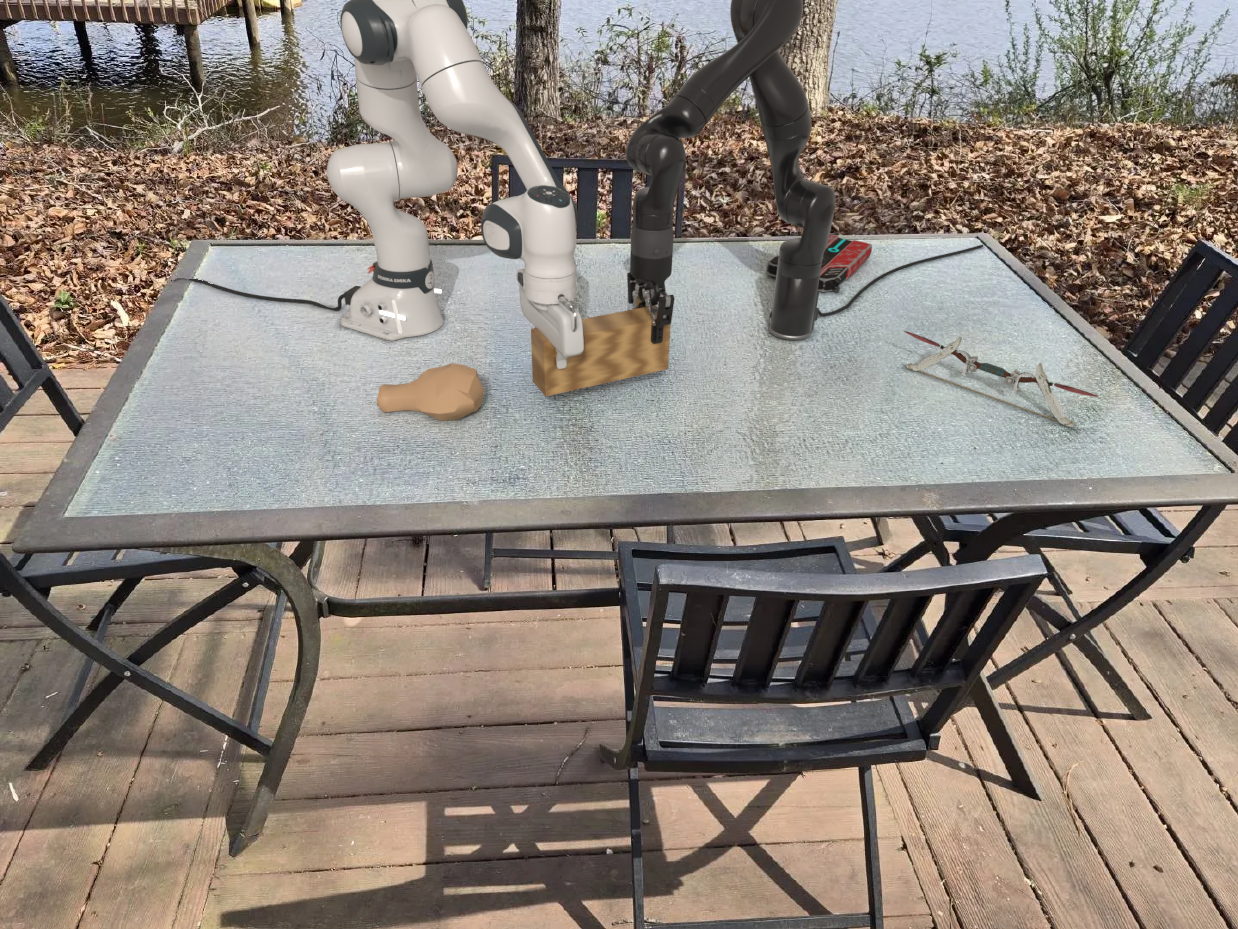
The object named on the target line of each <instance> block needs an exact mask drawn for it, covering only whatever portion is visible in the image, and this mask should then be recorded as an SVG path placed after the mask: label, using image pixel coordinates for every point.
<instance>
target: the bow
mask: <svg viewBox="0 0 1238 929" xmlns="http://www.w3.org/2000/svg"><path fill="white" fill-rule="evenodd" d="M903 332H904V333H905V334H907V335H909V336H911V337H912V338H914V339H916V340H919V341H922V342H924V343H926V344H929V345H931V346H934V347H937V348H940V350H941V351H939V352H935V353H934V354H932V355H930V356H927V357H925V358H924V359H923V360H921V361H920V362H919V363H912V362H910V363H907V364H905V367H906V369H909V370H910V371H913V372H920V373H922V374H926V375H928V376H931V377H933V378H936V379H939V380H942V381H944V382H948V383H950V384H953V385H956V386H958V387H961V388H964V389H966V390H969V391H972V392H975V393H978V394H981V395H983V396H986V397H988V398H989V397H990V398H992V399H995V400H997V401H1000V402H1003V403H1005V404H1008V405H1011V406H1014V407H1017V408H1019V409H1022V410H1025V411H1028V412H1030V413H1033V414H1035V415H1039V416H1042V417H1045V418H1047V419H1050V420H1053V421H1056V422H1058V423H1059V424H1061V425H1062V426H1065V427H1069V428H1073V427H1074V426H1075V425H1076V424H1077V423H1076V422H1074V420H1071V419H1070V418H1069V417H1067V416H1066V415H1065V413H1064V410H1063V407H1062V405H1061V403H1060V401H1059V399H1058V397H1057V396H1056V394H1055V393H1054V392H1053V391H1052V388H1051V387H1053V386H1054V387H1056V388H1058V389H1061V390H1064V391H1067V392H1071V393H1075V394H1077V395H1083V396H1089V397H1095V398H1098V397H1099V395H1098V394H1094V393H1091V392H1089V391H1086V390H1083V389H1079V388H1078V387H1077V388H1076V387H1074V386H1069V385H1066V384H1063V383H1058V382H1055V383H1054V382H1052V381H1049V379H1048V378H1049V376H1048V375H1047V374H1046V372H1045V371H1044V367H1043V363H1042V362H1038V364H1037V366H1036V368H1035V372H1034V374H1032V373H1030V372H1027V371H1025V372H1021V371H1019V370H1018V369H1017V368H1015V369H1014V370H1013V371H1012V372H1009V371H1007V370H1006V369H1005V368H1003V367H1000V366H998V365H994V364H992V363H989V362H979V361H978V360H979V356H978V355H973V356H971V355H970V353H968V352H967V351H966V350H961V349H959V350H957V349H958V348H959V347H960V346H961V343H962V339H963V337H962V336H959V337H957V339H955V340H954V341H953V342H951V343H948V344H947V345H946V346H944V345H942V344H940V343H938V342H936V341H934V340H931V339H929V338H926V337H924V336H921V335H919V334H917V333H912V332H909V331H906V330H904V331H903ZM951 356H954V357H955V358H957V359H958V360H959V361H960V362H962V363H963V364H964V368H963V369H962V370H961V371H962V372H961V373H960V375H962V376H964V377H965V376H966V375H968V372H970V373H975V372H977V370H979V371H982V372H985V373H989V374H990V375H994V376H996V377H1000V378H1004V382H1005V384H1006V385H1007V386H1012V393H1013V394H1017V393H1019V391H1020V383H1021V384H1022V383H1023V384H1027V383H1029V384H1031V383H1035V385H1036V386H1037V387H1038V388H1039V390H1040V392H1041V394H1042V395H1043V397H1044V399H1045V400H1046V404H1047V405H1048V407H1049V409H1050V411H1051V414H1052V415H1053V416H1054V417H1055V418H1053V417H1051V416H1047V415H1044V414H1041V413H1039V412H1036V411H1034V410H1031V409H1027V408H1025V407H1022V406H1019V405H1017V404H1014V403H1012V402H1008V401H1005V400H1002V399H1001V398H996V397H994V396H992V395H989V394H986V393H983V392H980V391H977V390H975V389H972V388H970V387H967V386H963V385H961V384H958V383H956V382H952V381H951V380H947V379H944V378H941V377H938V376H936V375H934V374H931V373H928V372H925V371H922V370H924V369H929V368H930V367H932V366H933V365H935V364H936V363H938V362H940V361H942V360H945V359H947V358H949V357H951Z"/></svg>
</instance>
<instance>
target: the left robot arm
mask: <svg viewBox="0 0 1238 929" xmlns="http://www.w3.org/2000/svg"><path fill="white" fill-rule="evenodd" d="M339 17H340V19H339V22H340V31H341V35H342V38H343V41H344V44H345V46H346V48H347V50H348V52H349V53H350V55H351V56H352V57H353V58H354V73H355V82H356V84H355V85H356V94H357V101H358V102H357V103H358V111H359V114H360V116H361V118H362V120H363V121H364V123H365V124H367V126H369V127H370V128H372V129H373V130H375V131H377V132H378V133H381V134H384V135H386V136H388V137H390V138H391V139H393V140H392V141H389V142H376V143H374V142H373V143H361V144H360V143H359V144H353V145H349V146H346V147H343V148H340V149H336V150H334V151H333V152H332V153H331V155H330V156H329V159H328V162H327V165H326V176H327V181H328V184H329V186H330V188H331V189H332V192H334V194H335V195H336V196H337V197H339V198H340V199H341V200H342V201H344V202H346V203H347V204H348V205H351V206H352V207H353V208H355V209H356V210H357V211H358V212H359V213H360V214H361V215H362V217H363V218H364V220H365V221H366V222H367V224H368V227H369V229H370V231H371V235H372V240H373V243H374V248H375V253H376V254H375V255H376V261H374V262H373V263H372V265H371V266H369V267H368V268H367V274H370V273H372V277H371V278H370V279H369V280H367V282H365V283H364V284H363V285H362V286H361V285H354V286H352V287H351V288H350V289H348V290H346V291H344V292H343V294H341V295H339V297H337V306H336V307H329V306H327V305H324V304H322V303H320V302H317V301H314V300H309V299H301V298H300V299H299V298H286V297H276V296H268V295H260V294H254V293H248V292H244V291H239V290H235V289H232V288H228V287H225V286H221V285H218V284H216V283H213V284H210V283H211V282H210V283H208V282H209V281H208V280H204V279H201V280H198V279H199V278H196V279H189V280H188V281H191V282H194V283H199V284H203V285H206V286H210V287H211V288H214V289H217V290H219V291H223V292H226V293H229V294H234V295H237V296H242V297H247V298H252V299H257V300H264V301H272V302H280V303H292V304H293V303H294V304H305V305H312V306H315V307H318V308H320V309H325V310H329V311H333V312H338V311H340V310H341V309H342V308H343V307H342V303H343V302H342V301H343V299H344V303H345V305H348V306H349V310H347V311H346V313H344V314H343V316H342V317H341V320H340V324H341V326H342V327H344V328H347V329H350V330H354V331H357V332H360V333H364V334H367V335H370V336H373V337H377V338H380V339H383V340H387V341H396V340H397V341H398V340H401V339H404V338H412V337H420V336H423V335H427V334H430V333H431V334H432V333H434V332H436V331H437V330H439V329H441V327H442V326H443V325H444V323H445V320H444V317H443V314H442V312H441V310H440V307H439V303H438V300H437V296H436V294H442V292H443V291H442V289H441V288H435V271H434V264H433V260H432V259H431V253H430V243H429V232H428V229H427V226H426V225H425V223H424V222H423V221H422V220H421V219H420V218H419V217H417V216H415V215H414V214H410V213H408V212H405V211H402V210H400V209H399V208H397V207H396V206H395V201H398V200H404V199H415V198H426V197H432V196H436V195H439V194H442V193H446V192H449V191H451V190H452V188H453V187H454V186H455V184H456V182H457V179H458V175H459V174H458V173H459V172H458V171H459V169H458V168H459V167H458V161H457V159H456V156H455V154H454V152H453V151H452V149H451V148H450V147H449V146H448V145H447V144H446V143H444V142H443V141H442V140H440V139H438V138H437V137H436V136H434V135H433V133H432V132H431V131H430V130H429V129H428V127H427V126H426V124H425V122H424V119H423V117H422V113H421V108H420V102H419V101H420V100H419V92H418V82H419V84H420V87H421V90H422V93H423V95H424V98H425V100H426V102H427V104H428V107H429V108H430V110H431V113H432V114H433V116H435V118H436V119H437V120H438V122H440V123H441V124H442V125H444V126H445V127H447V128H448V129H450V130H452V131H454V132H456V133H459V134H463V135H469V136H473V137H478V138H481V139H484V140H487V141H489V142H492V143H494V144H495V145H497V146H498V147H499V148H500V149H502V150H503V151H504V153H506V155H507V157H508V158H509V160H510V162H511V163H512V165H513V167H514V170H515V171H516V173H517V174H518V176H519V179H520V180H521V182H522V183H523V185H524V187H525V189H526V191H525V192H523V193H522V194H520V195H516V196H515V195H514V196H509V197H506V198H503V199H500V200H497V201H494V202H491V203H490V204H487V206H486V207H485V208H484V210H483V212H482V215H481V218H480V231H481V236H482V240H483V242H484V244H485V246H486V247H487V248H488V250H490V252H491V253H493V254H494V255H496V256H498V257H499V258H503V259H509V260H518V259H519V260H521V261H523V264H524V268H522V269H517V270H516V272H515V278H516V282H517V283H518V292H519V301H520V309H521V312H522V315H523V316H524V318H525V319H527V320H528V322H529V323H530V324H531V325H532V326H533V328H537V329H538V330H539V331H540V332H541V333H542V334H543V335H544V336H545V337H546V338H547V339H548V340H549V342H550V343H551V344H552V345H553V346H554V347H555V348H556V352H557V356H556V357H554V361H555V362H554V364H555V366H556V367H557V368H558V369H562V368H566V366H567V358H568V357H572V356H577V355H580V354H582V352H583V350H584V338H583V325H582V319H583V318H582V316H581V313H580V311H578V310H577V308H576V307H575V304H574V303H573V302H571V301H573V300H574V299H576V297H577V281H578V280H577V263H576V260H575V252H576V248H577V226H578V221H579V212H578V207H577V204H576V202H575V200H574V198H573V197H572V196H571V194H570V193H569V191H568V190H567V189H566V188H565V186H564V185H563V183H561V180H559V178H558V176H557V174H556V172H555V171H554V169H553V168H552V166H551V164H550V162H549V160H548V158H547V156H546V154H545V153H544V151H543V149H542V147H541V144H540V143H539V142H538V139H537V138H536V136H535V134H534V133H533V130H532V128H531V126H530V125H529V123H528V122H527V120H526V118H525V116H524V115H523V113H522V112H521V110H520V109H519V108H518V106H517V105H516V104H515V102H512V101H511V100H510V99H508V98H507V97H506V96H505V95H504V94H503V93H502V91H501V90H500V89H499V88H498V87H497V85H496V84H495V82H494V81H493V79H492V78H491V76H490V75H489V73H488V70H487V69H486V67H485V64H484V62H483V60H482V57H481V55H480V52H479V51H478V48H477V46H476V44H475V42H474V40H473V39H472V36H471V34H470V33H469V31H468V28H469V27H468V26H469V20H468V19H469V18H468V13H467V8H466V5H465V3H464V0H348V1H346V2H345V4H344V5H343V6H342V9H341V14H340V16H339ZM202 280H203V281H202Z"/></svg>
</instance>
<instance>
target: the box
mask: <svg viewBox="0 0 1238 929" xmlns="http://www.w3.org/2000/svg"><path fill="white" fill-rule="evenodd" d="M652 308H658V305H654V306H652ZM657 313H658V312H656V313H655V315H656V319H657ZM665 317H666V315H665ZM581 319H582V325H583V338H584V350H583V352H582V354H580V355H577V356H572V357H568V358H567V366H566V368H562V369H558V368H557V367H556V366H555V364H554V362H555V361H554V357H556V356H557V352H556V348H555V347H554V346H553V345H552V344H551V343H550V342H549V340H548V339H547V338H546V337H545V336H544V335H543V334H542V333H541V332H540V331H539V330H538V329H537V328H535V327H533V328H530V345H531V346H530V347H531V370H532V383H533V384H534V385H535V386H536V388H537V389H538V390H539V391H540V392H541V393H542V394H543V396H544V397H549V396H555V395H559V394H563V393H567V392H572V391H577V390H581V389H586V388H589V387H595V386H598V385H603V384H608V383H612V382H617V381H620V380H625V379H629V378H634V377H638V376H642V375H643V376H644V375H647V374H648V375H649V374H651V373H652V374H653V373H657V372H661V371H665V370H668V369H669V362H670V360H669V359H670V342H671V326H672V323H671V324H669V325H664V328H663V341H662V342H661V343H657V344H653V343H652V342H651V325H652V322H651V317H650V314H649V313H648V312H647V308H646V307H643V308H637V309H633V308H632V309H628V310H622V311H617V312H612V313H611V312H610V313H605V314H601V315H595V316H592V317H586V318H581Z"/></svg>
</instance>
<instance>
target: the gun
mask: <svg viewBox="0 0 1238 929" xmlns="http://www.w3.org/2000/svg"><path fill="white" fill-rule="evenodd" d="M872 252H873V244H871V243H868V242H864V241H861V240H855V239H853V240H851V239H845V238H842V237H840V236H839V235H837V234H831V233H830V235H829V240H828V244H827V247H826V249H825V252H824V254H823V259H822V265H821V272H820V278H819V285H818V291H819V292H822V293H826V292H834V293H840V289H841V287H840V286H842V284H843V283H844V282H845V281H847V280H849V279H850V278H851V277H852V276H853V275H855V274H856V273H857V272H858V271H859V270H860V269H861V267H862V266H863V265H864V264H865V263H866V262H867V261H868V260H869V258H870V256H871V254H872ZM778 259H779V254H777V255H775V256H774V257H773V258H770V260H768V261H767V265H766V274H765V275H768V276H770V277H772V278H773V277H774V278H776V274H777V266H778Z"/></svg>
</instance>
